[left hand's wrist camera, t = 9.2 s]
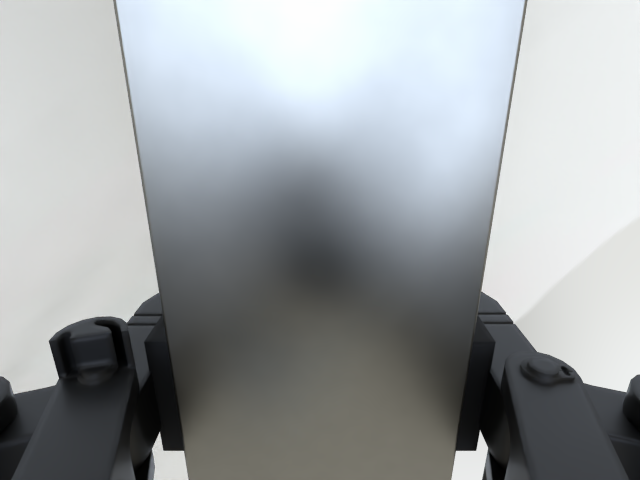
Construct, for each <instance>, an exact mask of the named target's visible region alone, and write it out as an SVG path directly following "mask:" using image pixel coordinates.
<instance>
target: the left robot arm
mask: <svg viewBox="0 0 640 480" xmlns="http://www.w3.org/2000/svg"><path fill="white" fill-rule="evenodd" d="M49 344H50V347H51V351H52V354H53V358H54V362H55V365H56V369H57V372H58V376H59V380H58V382H57V384H56V385H55V386H51V387H47V388H42V389H37V390H33V391H28V392H23V393H18V394H13V391H12V388H11V385H10V382H9V381H8V380H6V379H5V378H4V377H0V480H153V478H154V470H155V465H154V458H153V453H152V447H153V445H154V443H155V441H156V439H157V436H158V434H159V432H160V434H161V439H162V445H163V450H164V451H184V446H183V440H182V434H181V427H180V421H179V415H178V408H177V402H176V396H175V389H174V383H173V377H172V370H171V364H170V357H169V351H168V345H167V338H166V332H165V326H164V319H163V313H162V307H161V300H160V294H159V293H158V294H156V295H155V296H153V297H151V298H150V299H148V300H147V301H145V302H143V303H142V305H141V306H140V307H139V308H138V310H137V311H136V312H135V314H134V316H132V317H131V319H130V320H129V321H128V322H127V323H126V322H125V321H124V320H122V319H120V318H115V317H95V318H90V319H85V320H82V321H79V322H76V323H74V324H71V325H69V326H67V327H65V328H64V329H62V330H60V331H59V332H57V333H56V334H55V335H54V336H53V337H52V338H51V339H50V340H49ZM480 430H481V433H482V435H483V437H484V439H485V441H486V444H487V446H488V453H487V458H486V463H485V468H484V474H483V479H482V480H640V375H637V376H635V377H634V378H633V379H631V381H630V384H629V387H628V390H627V393H626V392H621V391H616V390H611V389H607V388H602V387H597V386H592V385H588V384H584V383H583V381H582V379H581V378H580V376H579V375H578V374H577V372H576V371H575V370H574V369H573V368H572V367H570V366H569V365H567V364H566V363H565V362H563V361H561V360H559V359H557V358H555V357H552V356H550V355H547V354H543V353H539V352H537V351H536V350H535V349H534V347H533V346H532V345H531V344H530V342H529V341H528V340H527V339H526V337H525V336H524V335H523V334H522V332H521V331H520V330H519V329H518V327H517V326H516V325H515V324H513V321H512V320H511V318H510V317H509V316H508V315H506V312H505V311H504V310H503V308H502V307H501V306H500V305H499V303H498V302H497V301H496V300H494V299H492V298H491V297H489V296H488V295H486V294H484V293H483V292H481V295H480V301H479V308H478V314H477V320H476V327H475V333H474V339H473V345H472V352H471V358H470V364H469V371H468V377H467V383H466V389H465V396H464V402H463V408H462V415H461V421H460V427H459V433H458V440H457V446H456V451H476V449H477V443H478V438H479V432H480Z"/></svg>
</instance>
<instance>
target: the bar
mask: <svg viewBox="0 0 640 480" xmlns="http://www.w3.org/2000/svg"><path fill="white" fill-rule="evenodd" d="M113 2H114V8H115V14H116V21H117V27H118V33H119V40H120V46H121V52H122V59H123V65H124V72H125V78H126V84H127V91H128V97H129V103H130V110H131V116H132V122H133V129H134V135H135V141H136V148H137V154H138V160H139V167H140V173H141V180H142V186H143V192H144V199H145V205H146V211H147V218H148V224H149V230H150V237H151V243H152V249H153V256H154V262H155V268H156V275H157V281H158V288H159V294H160V300H161V307H162V313H163V319H164V326H165V332H166V338H167V345H168V351H169V357H170V364H171V370H172V377H173V383H174V389H175V396H176V402H177V408H178V415H179V421H180V427H181V434H182V440H183V446H184V453H185V459H186V465H187V472H188V478H189V480H451V477H452V471H453V465H454V458H455V452H456V446H457V440H458V433H459V427H460V421H461V415H462V408H463V402H464V396H465V389H466V383H467V377H468V371H469V364H470V358H471V352H472V345H473V339H474V333H475V327H476V320H477V314H478V308H479V301H480V295H481V289H482V283H483V276H484V270H485V264H486V258H487V251H488V245H489V239H490V232H491V226H492V220H493V214H494V207H495V201H496V195H497V188H498V182H499V176H500V170H501V163H502V157H503V151H504V145H505V138H506V132H507V126H508V119H509V113H510V107H511V101H512V94H513V88H514V82H515V75H516V69H517V63H518V57H519V50H520V44H521V38H522V31H523V25H524V19H525V13H526V6H527V0H113Z"/></svg>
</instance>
